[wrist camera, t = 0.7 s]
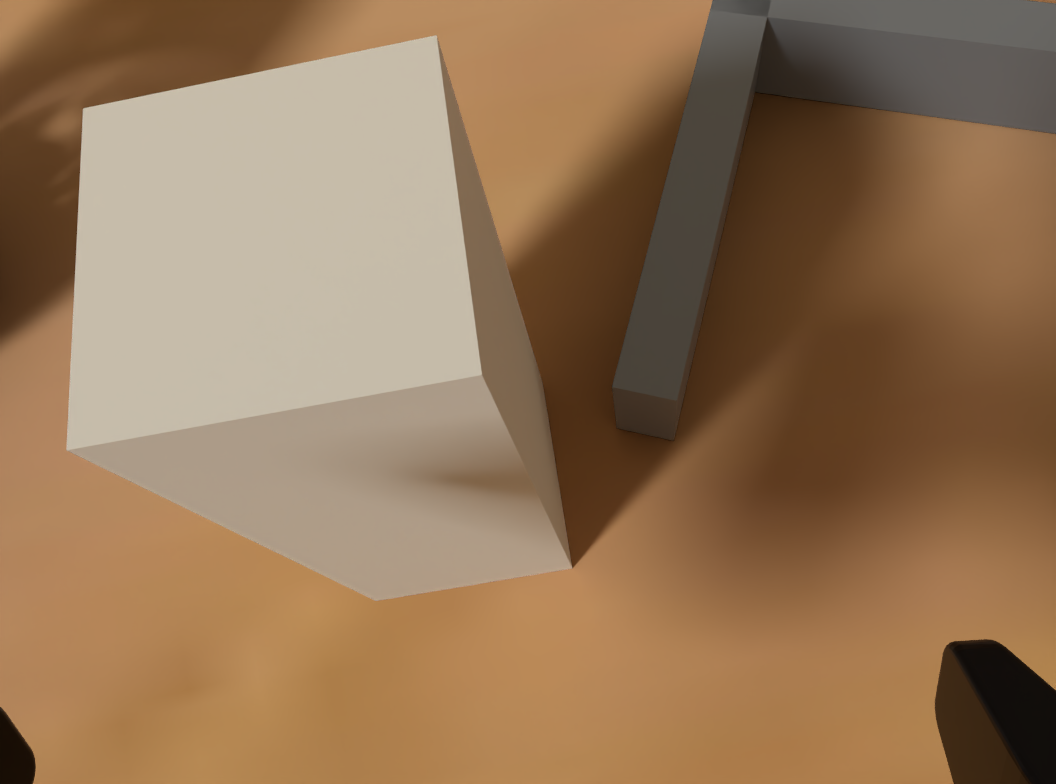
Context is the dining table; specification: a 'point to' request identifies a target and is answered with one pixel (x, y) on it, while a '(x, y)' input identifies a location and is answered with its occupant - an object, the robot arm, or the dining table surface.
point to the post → (313, 325)
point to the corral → (823, 75)
